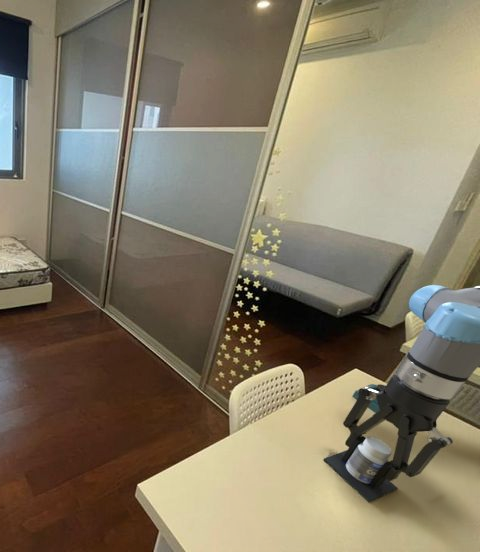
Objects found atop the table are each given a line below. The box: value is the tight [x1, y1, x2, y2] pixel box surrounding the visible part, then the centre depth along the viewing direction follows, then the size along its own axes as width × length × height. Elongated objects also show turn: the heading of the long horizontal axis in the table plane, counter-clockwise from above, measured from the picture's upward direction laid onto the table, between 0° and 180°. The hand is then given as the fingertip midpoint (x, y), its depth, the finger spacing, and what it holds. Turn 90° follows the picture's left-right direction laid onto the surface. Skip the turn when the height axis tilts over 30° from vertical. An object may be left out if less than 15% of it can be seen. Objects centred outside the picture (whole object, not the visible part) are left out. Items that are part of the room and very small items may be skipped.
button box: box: [352, 383, 380, 414], centre depth 85 cm, size 8×8×4 cm
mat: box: [323, 449, 399, 503], centre depth 66 cm, size 9×9×1 cm
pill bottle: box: [346, 436, 393, 484], centre depth 64 cm, size 5×5×8 cm
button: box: [374, 383, 386, 392], centre depth 84 cm, size 4×4×2 cm
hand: (360, 471), depth 66 cm, fingers closed on pill bottle, 5 cm apart
